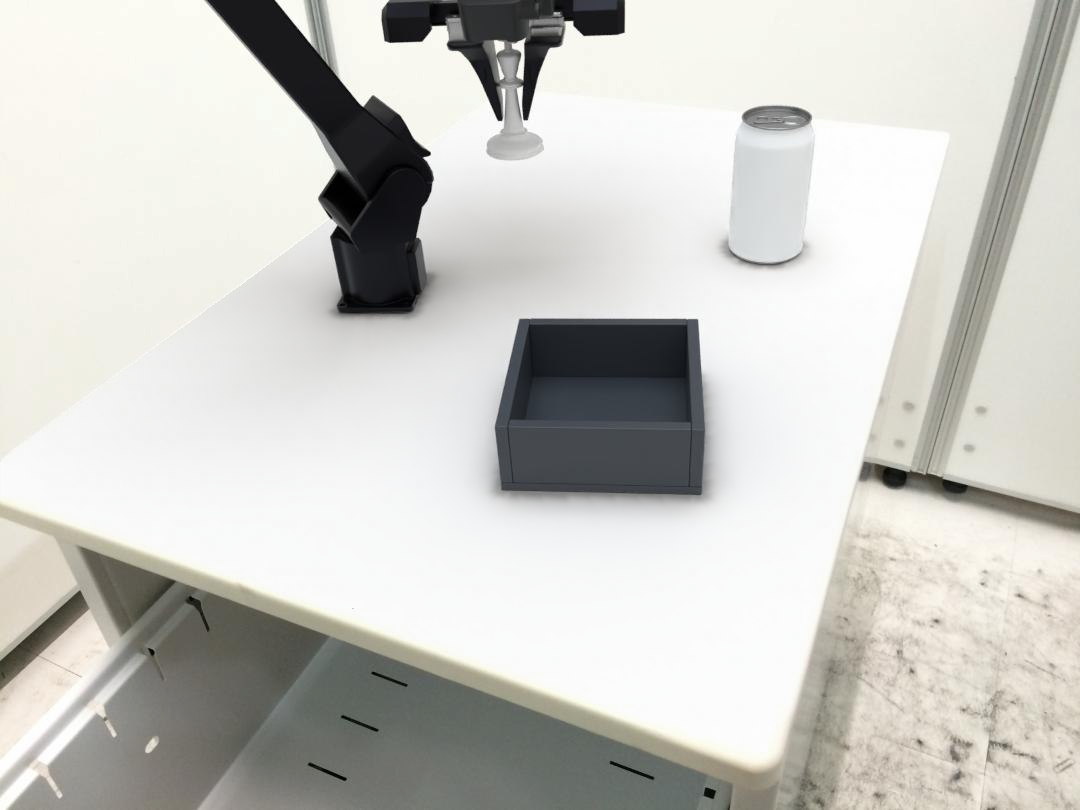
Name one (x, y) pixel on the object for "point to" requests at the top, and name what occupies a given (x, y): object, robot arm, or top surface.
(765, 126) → the can
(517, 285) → the top surface
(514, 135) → the chess piece
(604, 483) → the dark grey storage bin
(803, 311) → the top surface
